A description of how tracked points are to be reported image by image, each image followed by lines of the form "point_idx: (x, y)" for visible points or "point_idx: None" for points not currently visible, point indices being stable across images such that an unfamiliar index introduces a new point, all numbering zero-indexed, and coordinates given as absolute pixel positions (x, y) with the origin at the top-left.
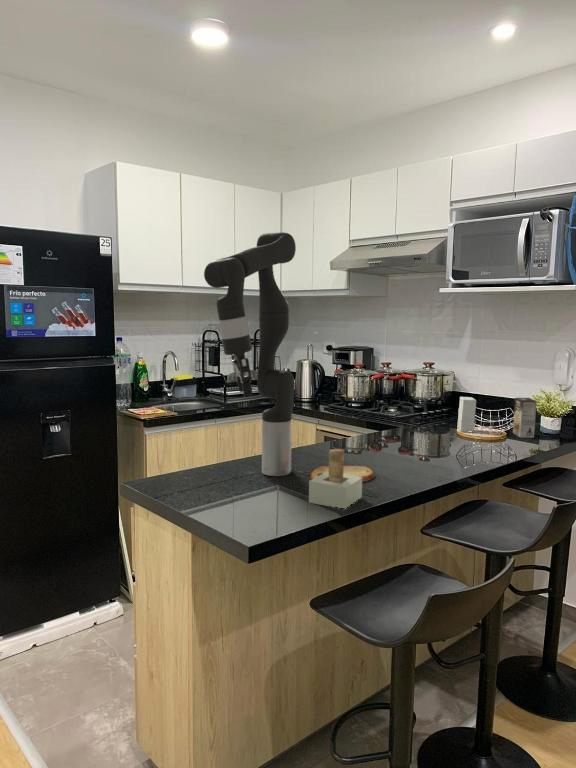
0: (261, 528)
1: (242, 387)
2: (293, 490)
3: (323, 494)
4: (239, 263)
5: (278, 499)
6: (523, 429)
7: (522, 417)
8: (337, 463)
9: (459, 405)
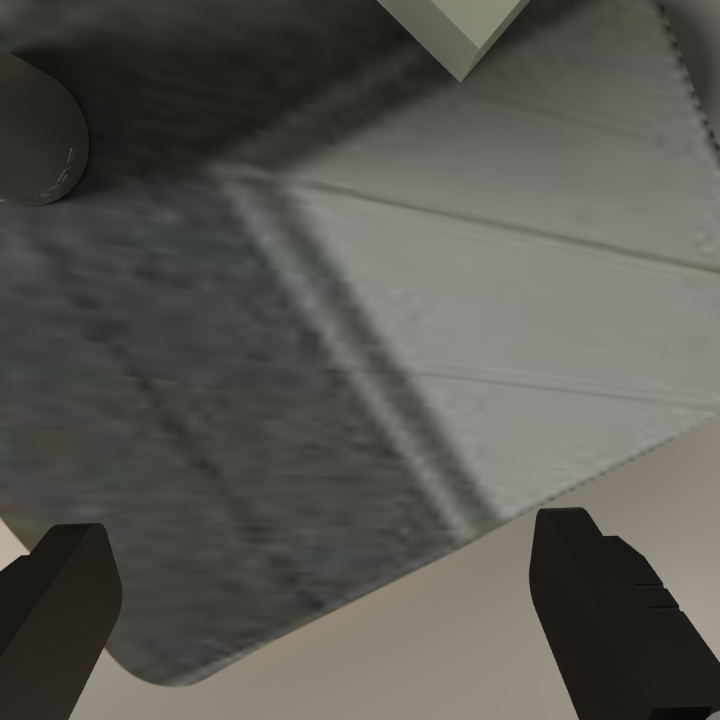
0: (678, 315)
1: (85, 615)
2: (296, 112)
3: (519, 7)
4: None
5: (401, 201)
6: None
7: None
8: None
9: None
